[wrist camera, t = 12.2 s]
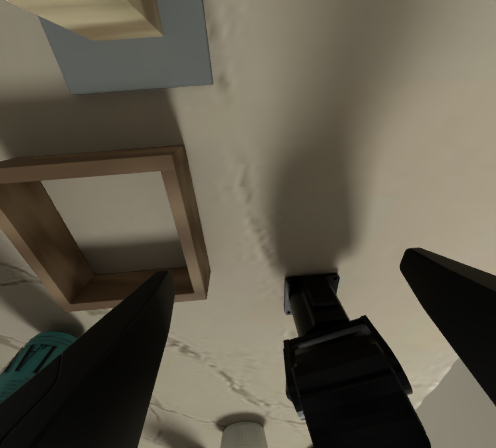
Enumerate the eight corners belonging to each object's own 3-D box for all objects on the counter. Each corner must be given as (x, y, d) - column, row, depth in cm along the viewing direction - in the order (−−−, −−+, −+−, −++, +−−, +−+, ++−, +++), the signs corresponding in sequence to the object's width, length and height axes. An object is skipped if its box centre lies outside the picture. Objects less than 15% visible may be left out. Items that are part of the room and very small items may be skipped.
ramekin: (247, 414, 45) (248, 449, 40) (276, 427, 49) (280, 460, 45) (209, 429, 48) (206, 464, 43) (240, 440, 52) (240, 472, 48)
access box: (210, 271, 24) (206, 299, 21) (89, 282, 24) (64, 312, 21) (184, 144, 17) (171, 154, 14) (13, 158, 17) (-43, 171, 14)
